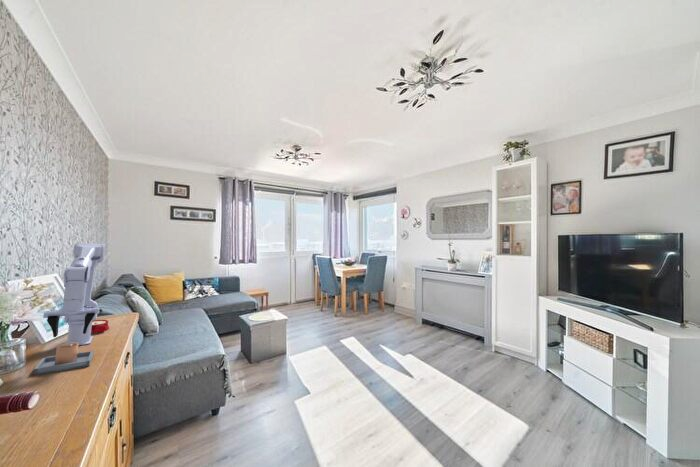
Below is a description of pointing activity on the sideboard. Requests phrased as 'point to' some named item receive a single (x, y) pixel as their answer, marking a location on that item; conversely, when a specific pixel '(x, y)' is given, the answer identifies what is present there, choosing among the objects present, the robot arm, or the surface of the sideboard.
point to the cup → (66, 353)
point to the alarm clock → (99, 326)
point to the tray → (49, 364)
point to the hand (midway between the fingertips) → (70, 334)
